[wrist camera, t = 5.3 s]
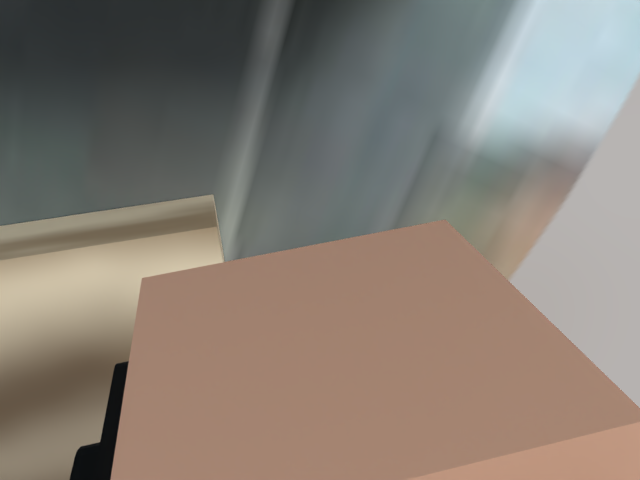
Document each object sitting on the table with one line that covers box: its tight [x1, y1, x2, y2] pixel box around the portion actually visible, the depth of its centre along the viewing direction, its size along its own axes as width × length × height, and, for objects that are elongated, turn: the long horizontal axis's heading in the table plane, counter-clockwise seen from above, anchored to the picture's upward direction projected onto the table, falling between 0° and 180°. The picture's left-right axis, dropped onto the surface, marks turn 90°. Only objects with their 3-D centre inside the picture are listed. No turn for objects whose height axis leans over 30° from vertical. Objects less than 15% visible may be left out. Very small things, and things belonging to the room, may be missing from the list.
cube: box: [110, 220, 640, 480], centre depth 9 cm, size 6×6×6 cm
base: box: [0, 195, 225, 480], centre depth 26 cm, size 11×11×4 cm
